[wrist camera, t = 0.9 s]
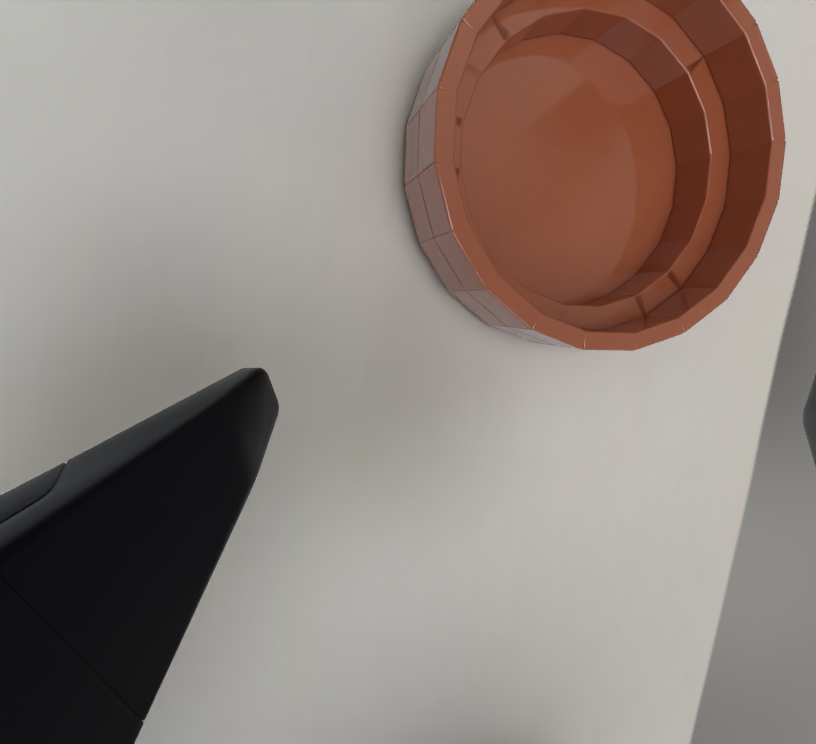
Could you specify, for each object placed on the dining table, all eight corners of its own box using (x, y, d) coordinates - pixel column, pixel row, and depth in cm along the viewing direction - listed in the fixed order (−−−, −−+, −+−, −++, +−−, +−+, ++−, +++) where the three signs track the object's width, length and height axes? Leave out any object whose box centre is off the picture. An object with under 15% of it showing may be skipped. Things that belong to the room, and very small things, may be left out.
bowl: (450, 382, 23) (493, 400, 19) (358, 30, 20) (383, -44, 16) (715, 293, 26) (804, 291, 22) (667, -25, 23) (758, -99, 19)
